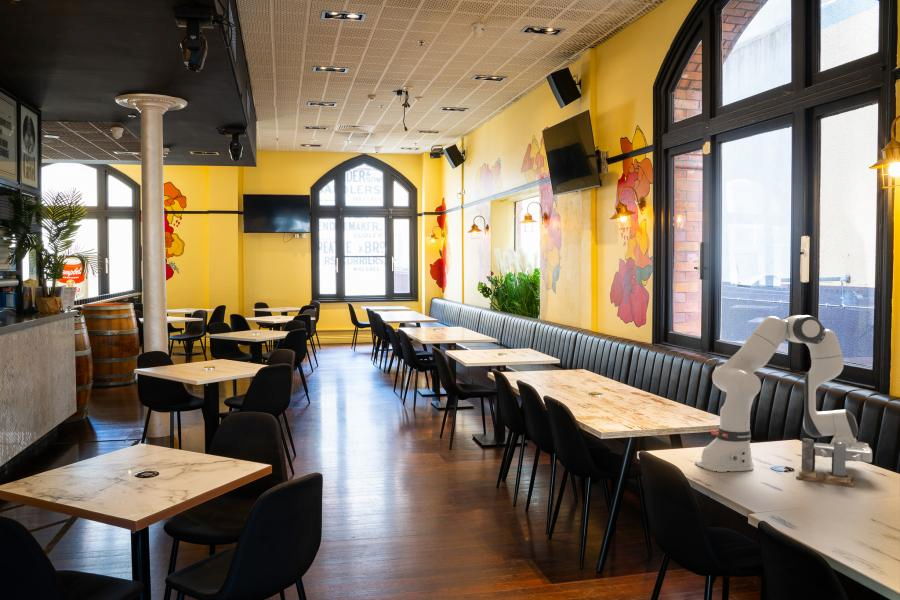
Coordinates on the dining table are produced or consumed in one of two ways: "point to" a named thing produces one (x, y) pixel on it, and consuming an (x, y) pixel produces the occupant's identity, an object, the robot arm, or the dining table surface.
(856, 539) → the dining table surface
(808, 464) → the twin post stand
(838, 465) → the grey tall block
